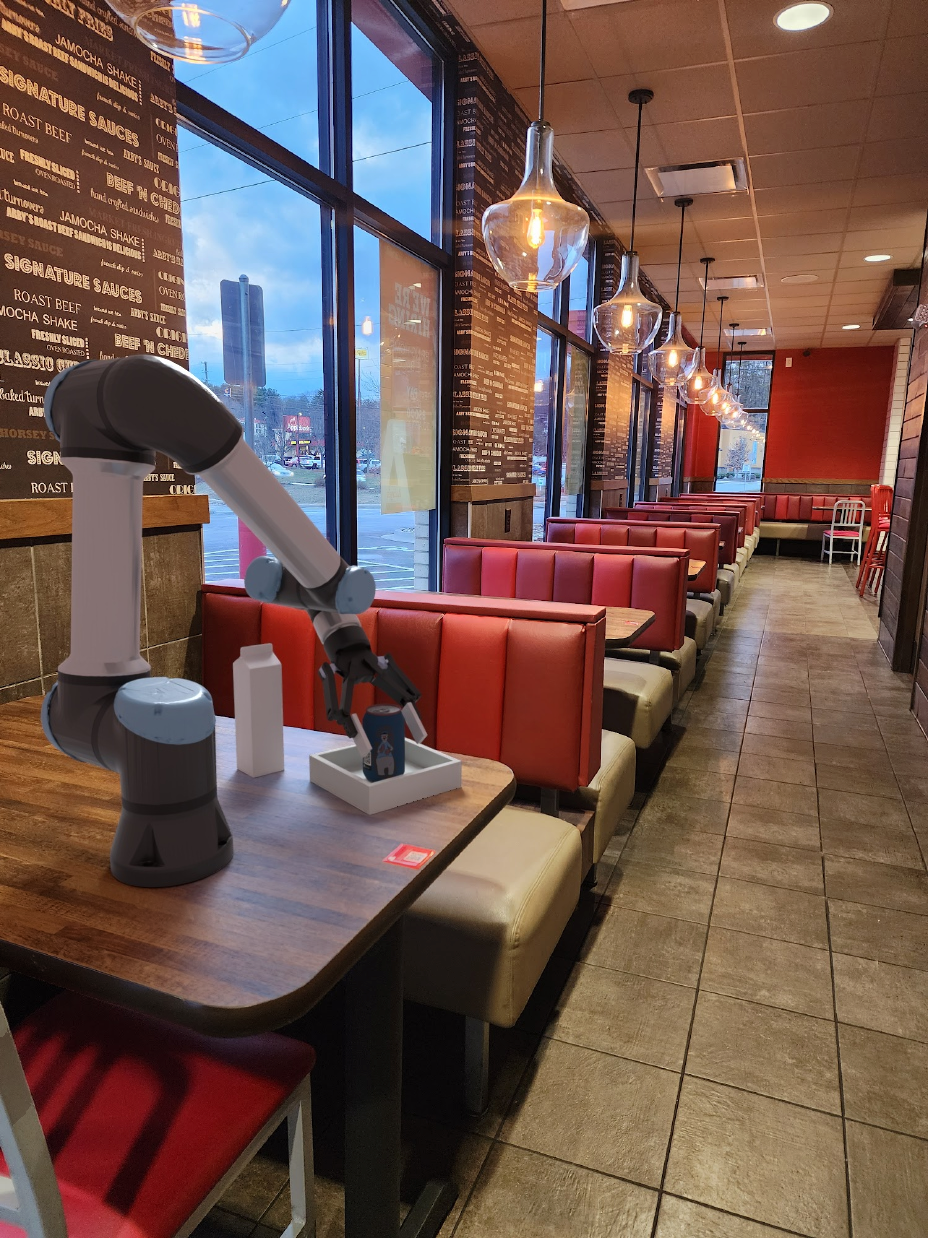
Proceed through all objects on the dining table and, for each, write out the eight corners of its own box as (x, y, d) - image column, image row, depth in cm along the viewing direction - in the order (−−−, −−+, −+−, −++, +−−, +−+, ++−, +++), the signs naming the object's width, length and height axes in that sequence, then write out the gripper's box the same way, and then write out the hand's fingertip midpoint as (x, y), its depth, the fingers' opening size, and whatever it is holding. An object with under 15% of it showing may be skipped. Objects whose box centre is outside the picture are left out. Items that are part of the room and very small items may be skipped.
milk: (284, 770, 137) (282, 645, 134) (252, 778, 133) (249, 650, 130) (267, 761, 142) (264, 640, 138) (235, 768, 138) (231, 644, 134)
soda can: (388, 768, 136) (387, 700, 134) (413, 779, 131) (413, 709, 129) (354, 777, 131) (353, 707, 129) (379, 789, 126) (378, 717, 124)
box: (369, 815, 119) (369, 786, 118) (309, 780, 132) (309, 755, 132) (461, 787, 130) (461, 761, 130) (397, 758, 144) (397, 734, 143)
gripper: (388, 641, 147) (440, 743, 138) (275, 657, 132) (325, 772, 123) (404, 616, 142) (460, 721, 133) (290, 630, 128) (343, 748, 118)
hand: (395, 746), depth 128 cm, fingers open, 10 cm apart
